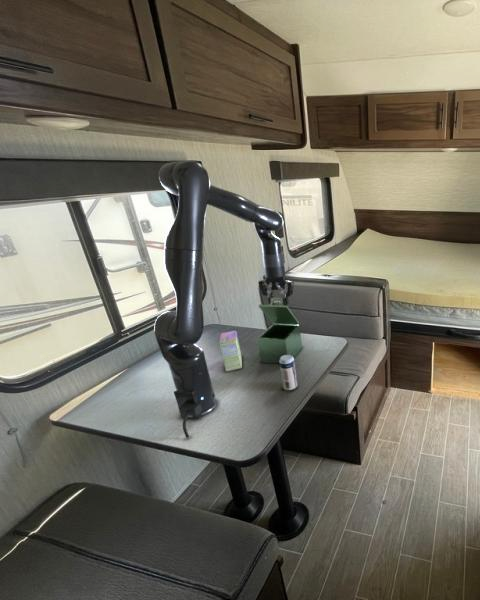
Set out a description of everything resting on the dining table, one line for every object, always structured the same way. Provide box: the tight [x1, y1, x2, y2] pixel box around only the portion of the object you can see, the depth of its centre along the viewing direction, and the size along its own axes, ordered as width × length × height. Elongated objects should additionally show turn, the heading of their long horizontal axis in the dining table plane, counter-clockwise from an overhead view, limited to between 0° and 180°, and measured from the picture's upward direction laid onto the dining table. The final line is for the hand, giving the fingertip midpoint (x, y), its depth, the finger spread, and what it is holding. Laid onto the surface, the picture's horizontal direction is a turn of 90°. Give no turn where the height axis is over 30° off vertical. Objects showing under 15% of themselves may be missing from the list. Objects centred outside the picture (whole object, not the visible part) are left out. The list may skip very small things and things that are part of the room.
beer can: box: [278, 355, 298, 391], centre depth 111 cm, size 5×5×12 cm
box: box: [218, 330, 243, 372], centre depth 126 cm, size 10×6×12 cm, turn 25°
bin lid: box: [258, 297, 300, 325], centre depth 132 cm, size 14×12×5 cm
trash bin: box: [256, 323, 303, 364], centre depth 132 cm, size 14×12×11 cm
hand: (279, 305), depth 129 cm, fingers closed on bin lid, 5 cm apart
